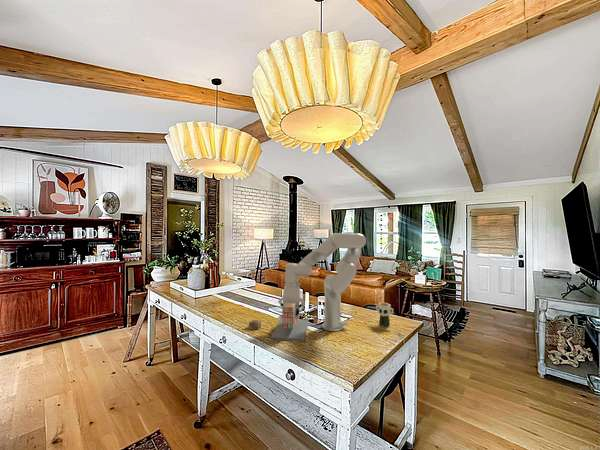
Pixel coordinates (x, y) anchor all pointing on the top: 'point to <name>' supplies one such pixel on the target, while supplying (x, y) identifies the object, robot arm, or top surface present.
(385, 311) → the beige and green figurine
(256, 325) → the walnut brick
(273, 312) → the top surface
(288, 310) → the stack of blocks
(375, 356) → the top surface
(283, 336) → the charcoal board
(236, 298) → the top surface
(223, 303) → the top surface
